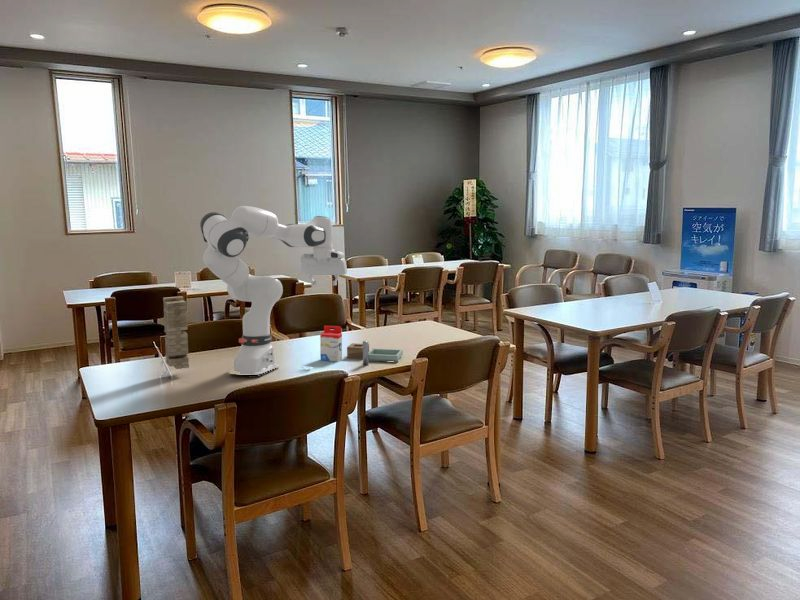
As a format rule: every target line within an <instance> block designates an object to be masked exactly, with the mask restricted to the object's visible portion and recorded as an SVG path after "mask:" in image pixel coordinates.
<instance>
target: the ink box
mask: <svg viewBox="0 0 800 600" xmlns="http://www.w3.org/2000/svg"><path fill="white" fill-rule="evenodd" d="M342 337H343V333H342V326H339V325H324V326H323V332H322V333H320V339H319V340H320V341H319V342H320V345H319V346H320V351H319V352H320V356H319V357H320V361H326V362H339V361H341V360H342V358H343V341H342V340H343V338H342Z"/></svg>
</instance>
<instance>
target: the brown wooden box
mask: <svg viewBox="0 0 800 600" xmlns="http://www.w3.org/2000/svg"><path fill="white" fill-rule="evenodd" d="M369 351H370V343H368V352H369ZM346 358H347V359H357V360H358V359H359V360H363V343H356V342H355V343H350V344H349V345H347V347H346Z"/></svg>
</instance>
